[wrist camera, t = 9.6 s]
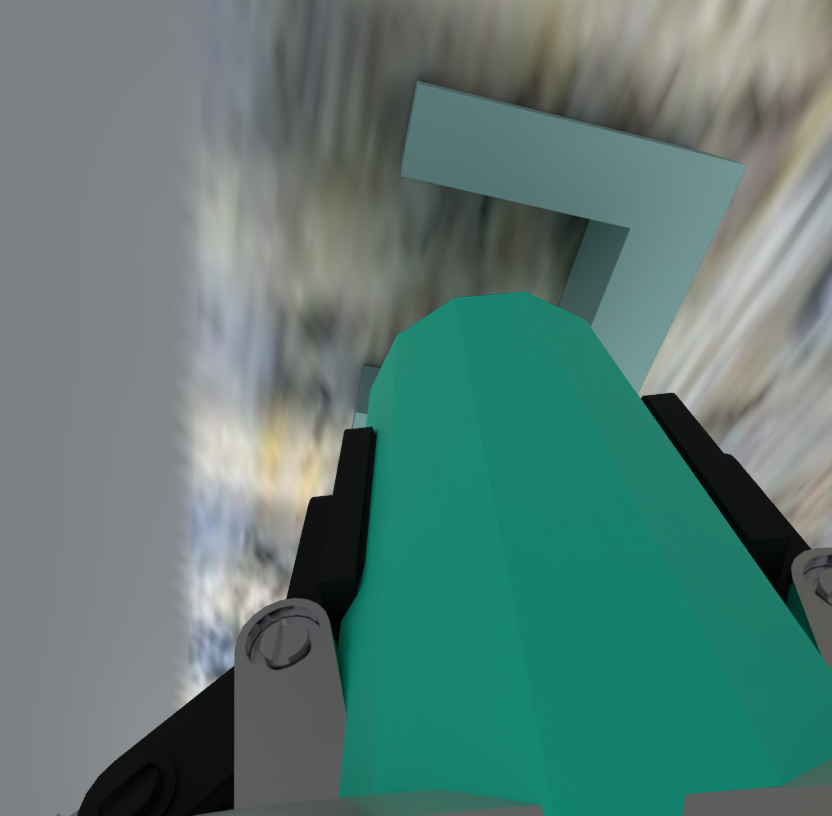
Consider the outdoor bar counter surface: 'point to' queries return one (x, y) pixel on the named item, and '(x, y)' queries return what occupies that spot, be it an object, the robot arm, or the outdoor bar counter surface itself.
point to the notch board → (582, 207)
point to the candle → (557, 589)
